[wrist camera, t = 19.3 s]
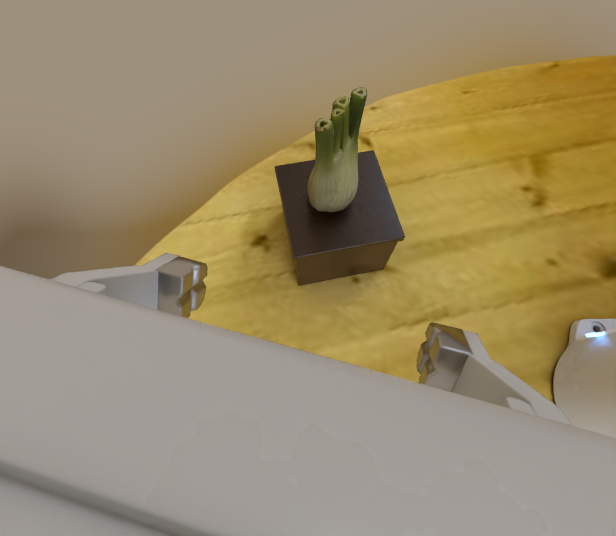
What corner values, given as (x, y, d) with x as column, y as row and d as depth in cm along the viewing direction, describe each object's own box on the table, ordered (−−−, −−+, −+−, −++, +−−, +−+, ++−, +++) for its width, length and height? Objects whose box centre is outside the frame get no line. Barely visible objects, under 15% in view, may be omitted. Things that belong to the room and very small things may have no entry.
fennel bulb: (346, 173, 38) (362, 75, 27) (366, 208, 37) (391, 118, 26) (298, 189, 37) (294, 94, 26) (315, 225, 36) (319, 140, 25)
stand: (362, 195, 48) (373, 149, 40) (386, 271, 43) (405, 237, 35) (280, 210, 47) (274, 166, 39) (296, 288, 43) (293, 257, 34)
